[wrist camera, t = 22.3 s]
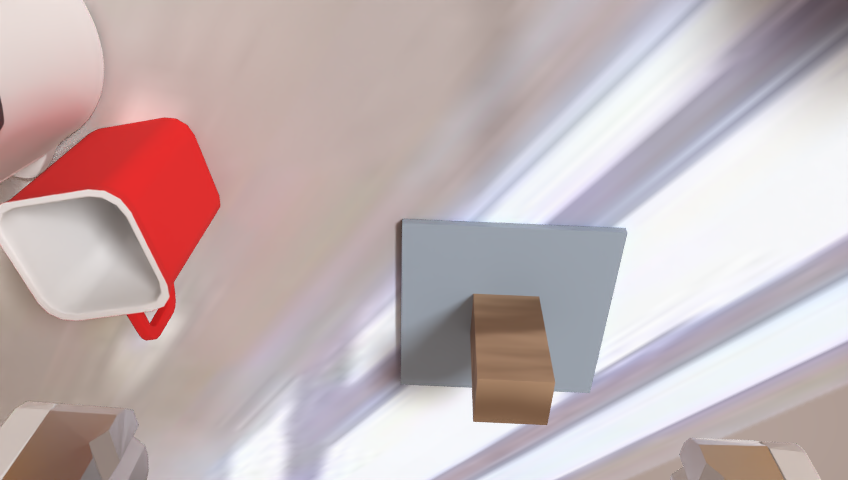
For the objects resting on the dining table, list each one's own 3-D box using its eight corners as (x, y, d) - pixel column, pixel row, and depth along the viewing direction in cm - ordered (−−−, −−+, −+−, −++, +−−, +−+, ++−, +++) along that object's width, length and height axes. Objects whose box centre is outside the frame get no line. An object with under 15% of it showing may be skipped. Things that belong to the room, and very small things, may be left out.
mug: (74, 129, 43) (-25, 207, 34) (188, 109, 42) (117, 184, 33) (147, 271, 49) (80, 369, 40) (248, 257, 48) (202, 354, 39)
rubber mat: (401, 379, 55) (400, 384, 54) (402, 218, 46) (402, 223, 45) (588, 387, 54) (589, 392, 54) (625, 228, 46) (627, 232, 45)
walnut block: (473, 293, 49) (477, 378, 41) (539, 296, 49) (555, 382, 41) (469, 336, 51) (473, 424, 43) (532, 339, 51) (546, 428, 43)
